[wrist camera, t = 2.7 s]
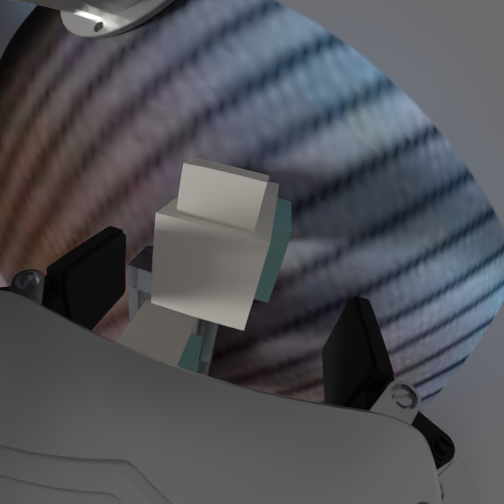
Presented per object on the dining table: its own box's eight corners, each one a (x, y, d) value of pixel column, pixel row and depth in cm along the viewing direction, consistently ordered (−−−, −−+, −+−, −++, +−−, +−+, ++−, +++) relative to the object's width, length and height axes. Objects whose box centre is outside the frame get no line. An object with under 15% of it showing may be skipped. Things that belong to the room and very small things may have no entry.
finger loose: (223, 141, 16) (162, 161, 8) (299, 160, 16) (310, 197, 8) (207, 225, 19) (150, 302, 11) (275, 243, 19) (263, 335, 11)
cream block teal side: (152, 272, 19) (83, 362, 11) (216, 291, 19) (172, 400, 11) (151, 329, 21) (103, 414, 13) (205, 346, 21) (172, 441, 13)
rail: (146, 246, 20) (127, 265, 18) (233, 271, 20) (224, 294, 17) (151, 405, 32) (143, 422, 29) (199, 421, 32) (194, 439, 29)
